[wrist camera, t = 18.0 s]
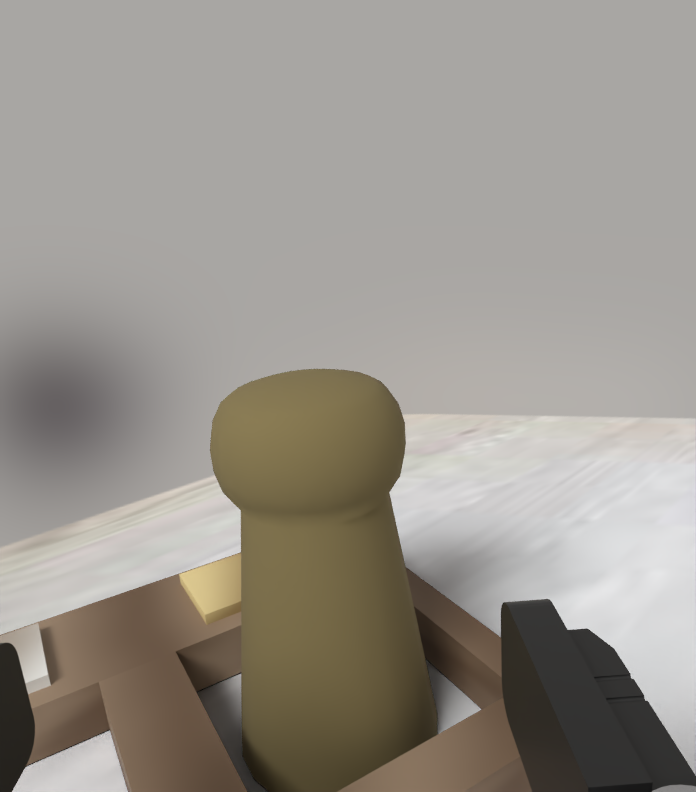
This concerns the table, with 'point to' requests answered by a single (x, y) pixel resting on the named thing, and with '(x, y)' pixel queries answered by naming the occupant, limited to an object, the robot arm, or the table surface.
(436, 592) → the wooden frame
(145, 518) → the table surface
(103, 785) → the table surface
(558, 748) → the robot arm
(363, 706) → the olive pawn figure
